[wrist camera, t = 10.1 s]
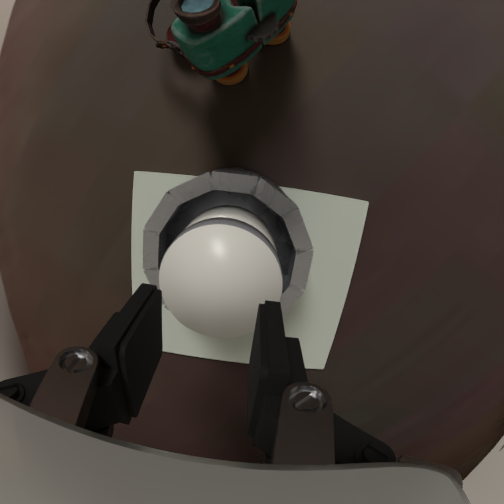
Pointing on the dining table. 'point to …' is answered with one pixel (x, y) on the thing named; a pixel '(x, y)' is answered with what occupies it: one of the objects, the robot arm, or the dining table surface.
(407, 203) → the dining table surface
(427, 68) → the dining table surface
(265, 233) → the cap
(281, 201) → the grey ring
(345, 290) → the mat
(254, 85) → the dining table surface
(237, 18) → the binoculars
